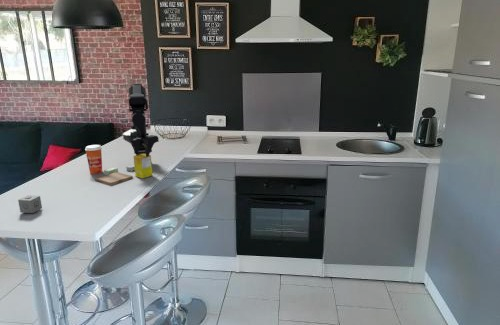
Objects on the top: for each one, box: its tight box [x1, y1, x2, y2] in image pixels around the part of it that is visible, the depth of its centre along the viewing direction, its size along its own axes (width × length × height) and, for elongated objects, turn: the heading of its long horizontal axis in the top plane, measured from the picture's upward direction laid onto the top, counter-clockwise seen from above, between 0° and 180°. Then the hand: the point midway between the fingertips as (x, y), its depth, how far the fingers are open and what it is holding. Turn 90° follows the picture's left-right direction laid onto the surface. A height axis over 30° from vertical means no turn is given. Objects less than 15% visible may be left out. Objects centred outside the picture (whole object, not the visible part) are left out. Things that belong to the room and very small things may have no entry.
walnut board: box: [94, 171, 134, 186], centre depth 171 cm, size 12×12×2 cm
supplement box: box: [133, 154, 153, 180], centre depth 174 cm, size 6×6×11 cm
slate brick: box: [125, 164, 135, 172], centre depth 185 cm, size 6×3×3 cm, turn 154°
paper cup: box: [84, 144, 103, 175], centre depth 180 cm, size 8×8×14 cm
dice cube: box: [17, 194, 43, 214], centre depth 136 cm, size 5×5×5 cm
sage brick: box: [103, 167, 119, 176], centre depth 179 cm, size 6×3×3 cm, turn 155°
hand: (142, 155), depth 172 cm, fingers open, 7 cm apart
